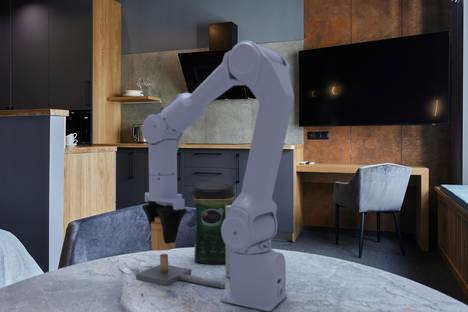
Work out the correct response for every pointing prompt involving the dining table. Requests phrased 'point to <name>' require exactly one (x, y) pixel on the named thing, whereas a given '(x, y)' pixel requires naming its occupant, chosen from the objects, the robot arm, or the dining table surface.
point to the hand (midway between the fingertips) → (163, 240)
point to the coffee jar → (211, 220)
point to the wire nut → (159, 237)
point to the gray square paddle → (173, 275)
